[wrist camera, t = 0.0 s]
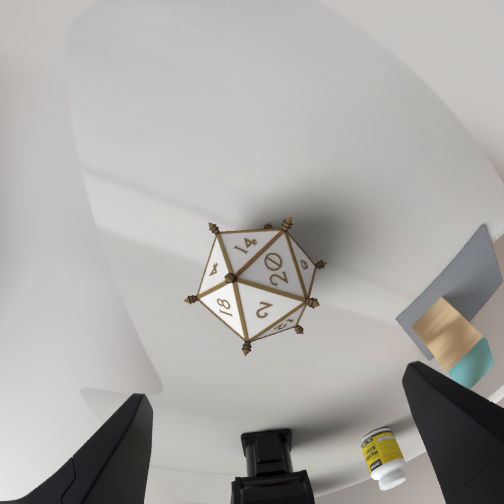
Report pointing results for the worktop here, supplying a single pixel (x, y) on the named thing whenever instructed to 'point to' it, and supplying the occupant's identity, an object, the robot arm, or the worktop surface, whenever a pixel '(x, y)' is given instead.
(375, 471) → the supplement bottle
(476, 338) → the oak block
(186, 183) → the worktop surface
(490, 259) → the mat
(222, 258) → the game die
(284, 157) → the worktop surface
